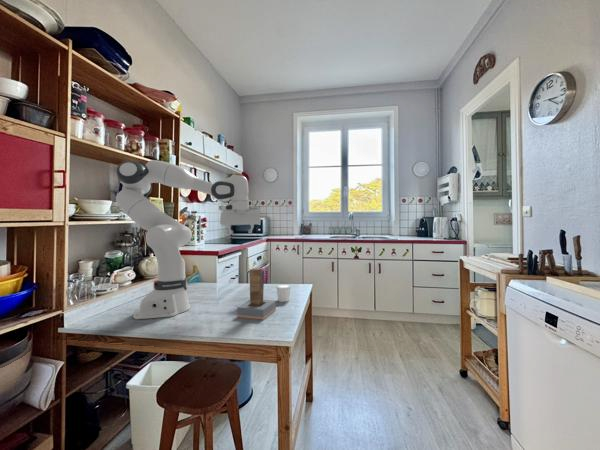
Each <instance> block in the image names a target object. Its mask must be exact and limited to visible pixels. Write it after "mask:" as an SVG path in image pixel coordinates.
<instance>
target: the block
mask: <svg viewBox="0 0 600 450" xmlns="http://www.w3.org/2000/svg"><path fill="white" fill-rule="evenodd" d="M262 270H263V268H262V267H254V268H250V269H249V270H248V272H249V273H248V274H249V276H248V277H249V297H250V298H249V300H250V306H257V307H260V306H262V305H263V300H264V289H263V278H262Z"/></svg>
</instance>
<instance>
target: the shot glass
mask: <svg viewBox="0 0 600 450" xmlns="http://www.w3.org/2000/svg"><path fill="white" fill-rule="evenodd" d="M275 287H276V295H277V301H278V302H281V303H284V302H285V303H286V302H289V301H290V296H291V295H290V294H291V285H289V284H278V285H276V286H275Z"/></svg>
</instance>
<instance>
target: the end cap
mask: <svg viewBox="0 0 600 450" xmlns="http://www.w3.org/2000/svg"><path fill="white" fill-rule="evenodd" d="M276 303H277V301H276V300H270V299H263V305H262V306H260V307H257V306H250V299H249V300H247V301H245V302H244V303H242V304H240V305H239V306H237V307H236V310H237V311H236V312H237V313H236V315H237V318H244V319H253V320H255V319H256V320H265V319H267V318H268V317H269V316H270V315H271V314H273V313H274V312H275V311H276V310H277V306H276V305H277V304H276Z"/></svg>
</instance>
